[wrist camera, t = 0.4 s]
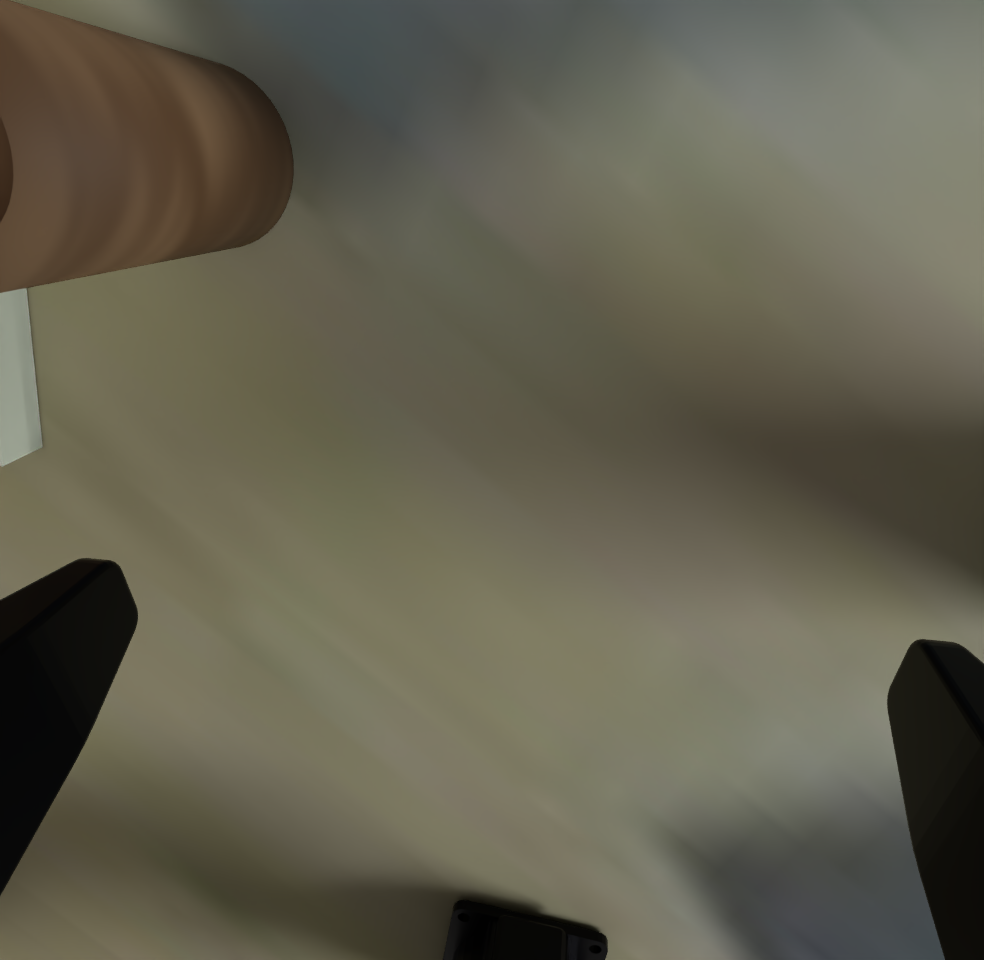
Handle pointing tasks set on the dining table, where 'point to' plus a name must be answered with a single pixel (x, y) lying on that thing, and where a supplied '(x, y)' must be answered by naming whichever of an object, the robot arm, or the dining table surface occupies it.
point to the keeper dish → (17, 380)
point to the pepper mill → (126, 152)
